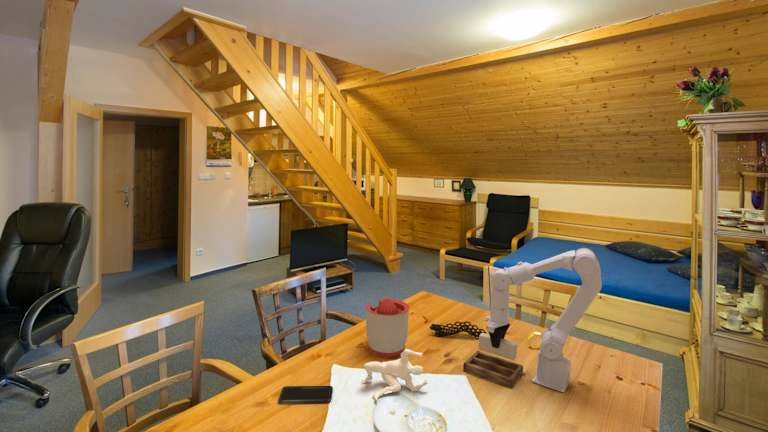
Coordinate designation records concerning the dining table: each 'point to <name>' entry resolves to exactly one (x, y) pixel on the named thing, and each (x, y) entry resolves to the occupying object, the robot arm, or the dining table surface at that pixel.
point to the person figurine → (395, 373)
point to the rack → (493, 369)
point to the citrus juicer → (387, 327)
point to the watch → (531, 337)
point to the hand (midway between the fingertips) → (497, 345)
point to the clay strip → (504, 350)
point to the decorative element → (439, 329)
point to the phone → (306, 395)
